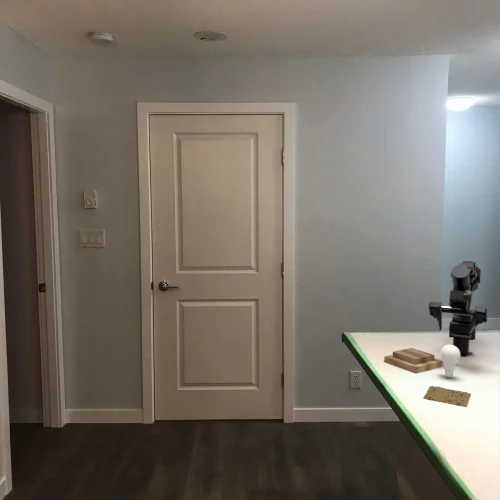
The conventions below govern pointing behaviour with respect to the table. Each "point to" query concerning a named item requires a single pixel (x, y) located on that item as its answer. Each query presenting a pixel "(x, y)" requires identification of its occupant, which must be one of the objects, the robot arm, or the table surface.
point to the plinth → (411, 366)
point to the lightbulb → (450, 358)
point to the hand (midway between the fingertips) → (454, 332)
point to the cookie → (447, 396)
